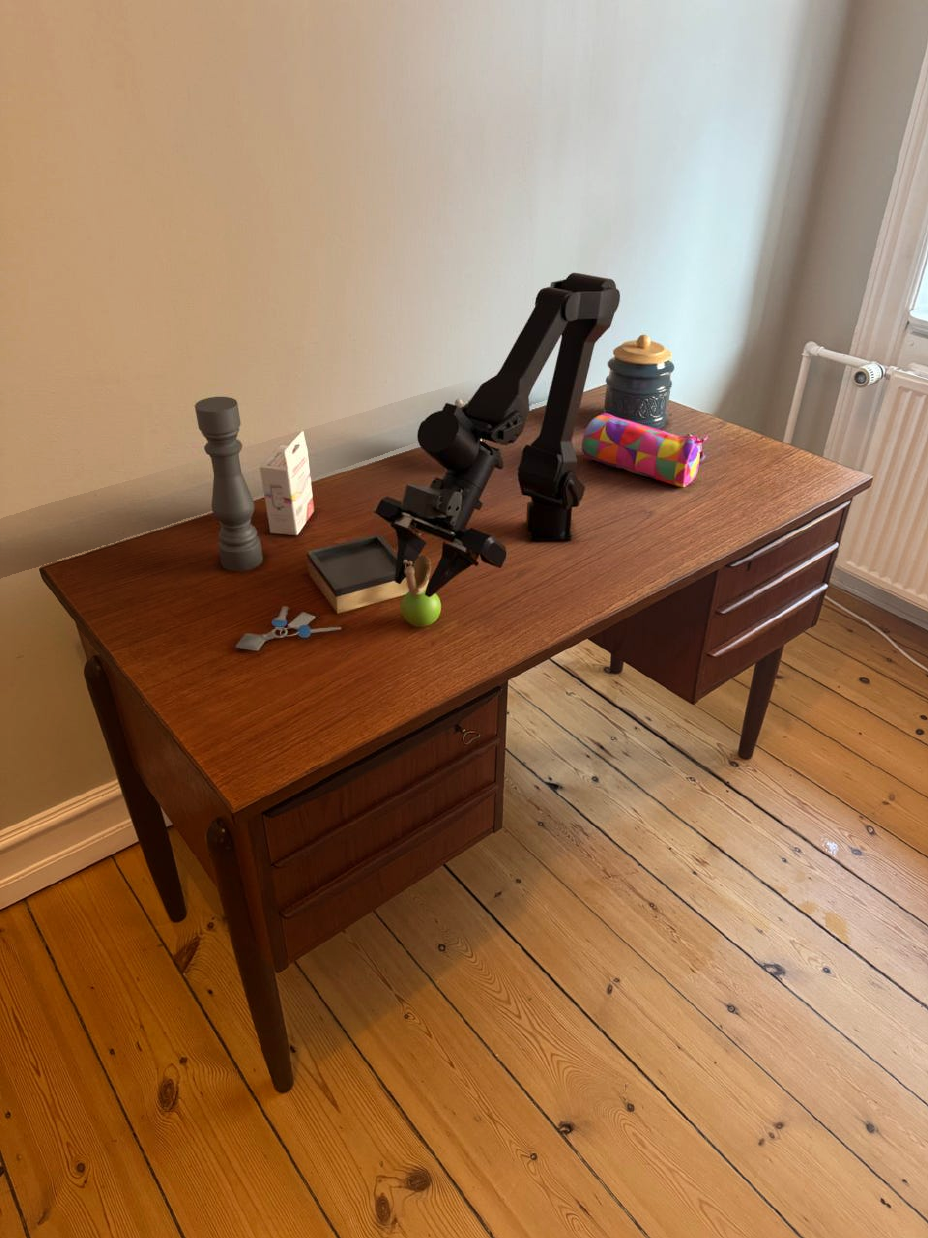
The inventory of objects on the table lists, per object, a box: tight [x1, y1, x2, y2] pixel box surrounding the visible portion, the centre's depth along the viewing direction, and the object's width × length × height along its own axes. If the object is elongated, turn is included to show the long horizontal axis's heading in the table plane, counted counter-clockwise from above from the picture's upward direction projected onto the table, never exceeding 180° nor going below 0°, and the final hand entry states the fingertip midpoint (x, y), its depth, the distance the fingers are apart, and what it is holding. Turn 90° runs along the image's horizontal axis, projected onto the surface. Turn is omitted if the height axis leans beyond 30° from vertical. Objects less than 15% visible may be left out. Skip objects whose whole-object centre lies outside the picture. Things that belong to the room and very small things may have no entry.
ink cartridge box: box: [258, 430, 315, 536], centre depth 140 cm, size 9×5×15 cm, turn 168°
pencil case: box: [581, 412, 709, 488], centre depth 157 cm, size 22×9×9 cm, turn 58°
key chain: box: [235, 605, 342, 652], centre depth 119 cm, size 14×8×1 cm, turn 114°
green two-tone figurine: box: [400, 554, 442, 628], centre depth 117 cm, size 5×6×12 cm
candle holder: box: [194, 396, 264, 572], centre depth 127 cm, size 6×6×25 cm
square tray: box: [306, 533, 409, 614], centre depth 128 cm, size 12×12×4 cm
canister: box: [602, 334, 675, 430], centre depth 174 cm, size 13×13×18 cm
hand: (411, 589), depth 116 cm, fingers open, 5 cm apart
